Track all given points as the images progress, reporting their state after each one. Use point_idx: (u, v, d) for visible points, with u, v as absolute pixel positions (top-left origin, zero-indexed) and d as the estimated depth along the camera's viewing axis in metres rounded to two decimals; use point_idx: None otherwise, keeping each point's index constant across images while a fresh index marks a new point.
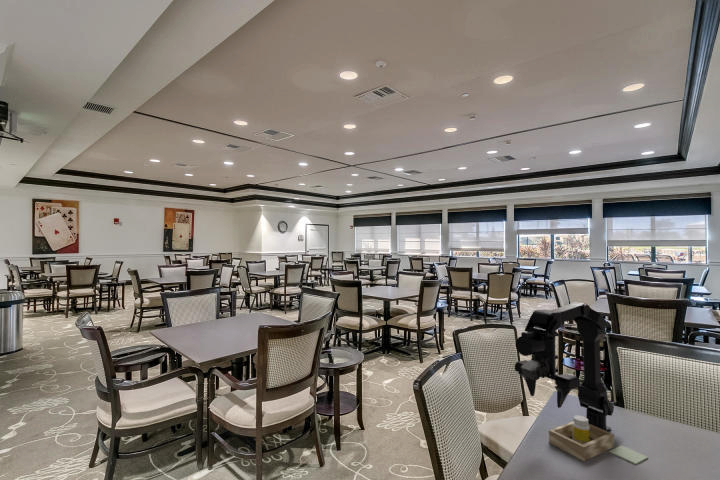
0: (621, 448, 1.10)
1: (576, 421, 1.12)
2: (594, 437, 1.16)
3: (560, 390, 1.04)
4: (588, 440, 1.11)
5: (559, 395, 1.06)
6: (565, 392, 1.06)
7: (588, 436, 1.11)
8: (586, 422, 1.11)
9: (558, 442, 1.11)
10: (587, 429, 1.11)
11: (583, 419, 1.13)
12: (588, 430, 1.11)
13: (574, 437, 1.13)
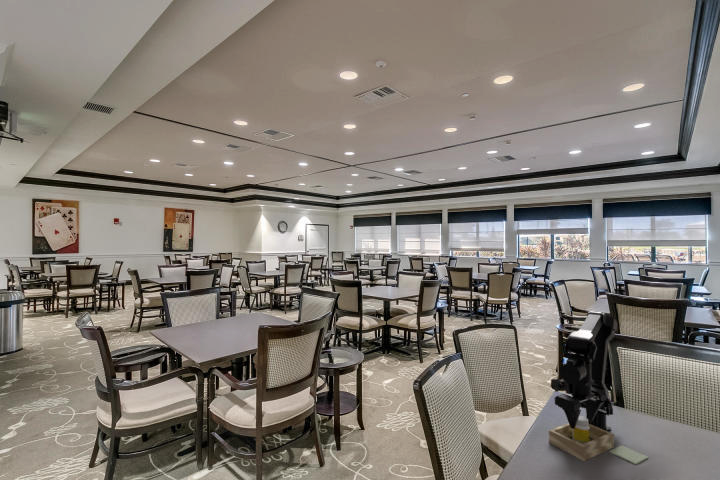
0: (621, 448, 1.10)
1: None
2: (594, 437, 1.16)
3: None
4: (588, 440, 1.11)
5: None
6: (572, 415, 1.10)
7: (588, 436, 1.11)
8: (586, 422, 1.11)
9: (558, 442, 1.11)
10: (587, 429, 1.11)
11: (583, 419, 1.13)
12: (588, 430, 1.11)
13: (574, 437, 1.13)
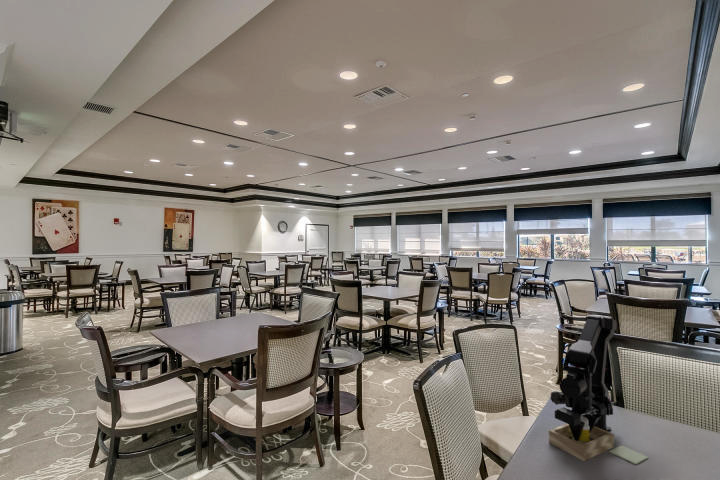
0: (621, 448, 1.10)
1: None
2: (594, 437, 1.16)
3: None
4: (588, 440, 1.11)
5: None
6: (576, 427, 1.10)
7: (588, 436, 1.11)
8: (586, 422, 1.11)
9: (558, 442, 1.11)
10: (587, 429, 1.11)
11: (583, 419, 1.13)
12: (588, 430, 1.11)
13: None
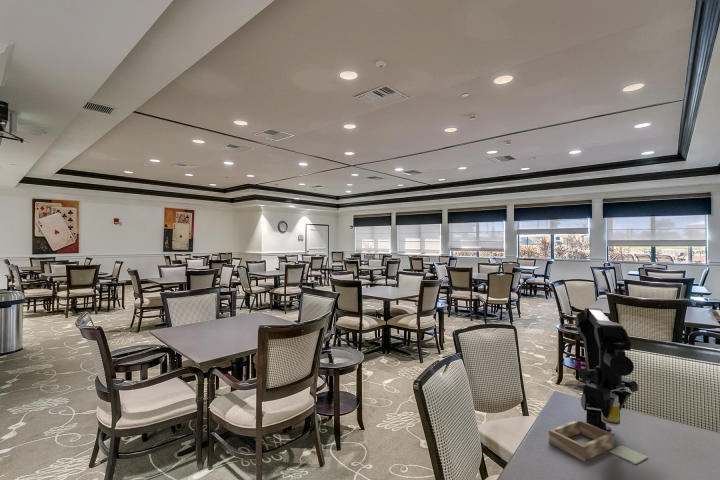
0: (621, 448, 1.10)
1: None
2: (594, 437, 1.16)
3: None
4: (618, 417, 1.07)
5: None
6: (606, 403, 1.07)
7: (618, 413, 1.07)
8: (616, 398, 1.08)
9: (558, 442, 1.11)
10: (617, 406, 1.07)
11: (613, 395, 1.09)
12: (618, 407, 1.08)
13: None
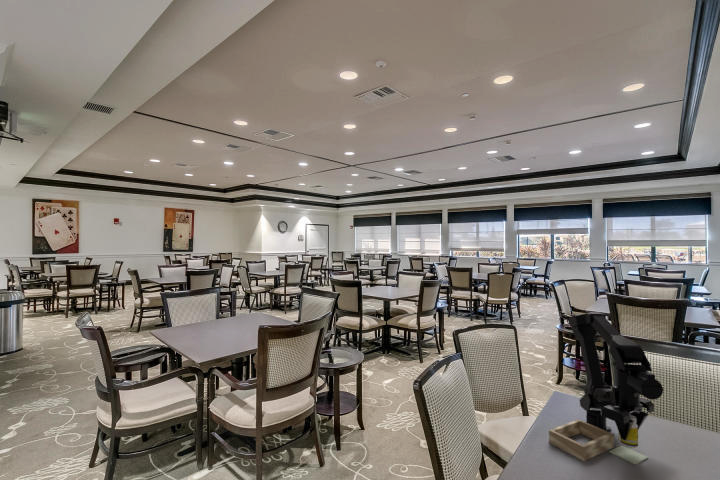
0: (621, 448, 1.10)
1: None
2: (594, 437, 1.16)
3: None
4: (636, 439, 1.06)
5: None
6: (624, 425, 1.05)
7: (636, 435, 1.06)
8: (634, 420, 1.06)
9: (558, 442, 1.11)
10: (635, 427, 1.06)
11: (631, 416, 1.07)
12: (636, 428, 1.06)
13: None
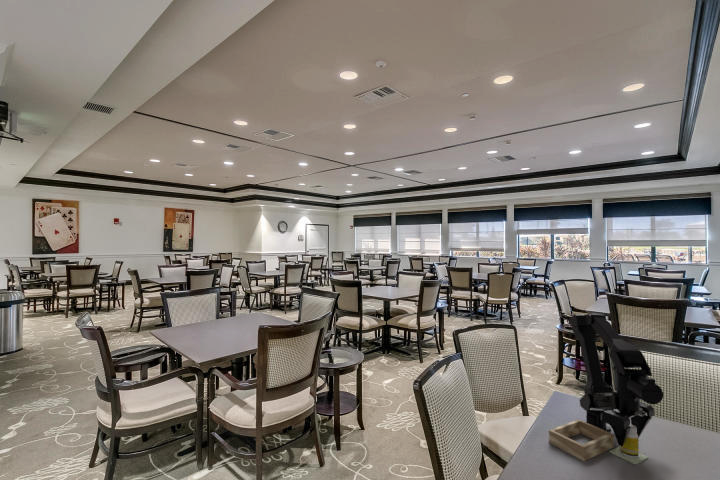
0: None
1: None
2: (594, 437, 1.16)
3: None
4: (637, 449, 1.05)
5: None
6: (621, 431, 1.04)
7: (637, 445, 1.05)
8: (635, 430, 1.06)
9: (558, 442, 1.11)
10: (636, 437, 1.05)
11: (631, 426, 1.07)
12: (637, 438, 1.06)
13: (622, 446, 1.07)
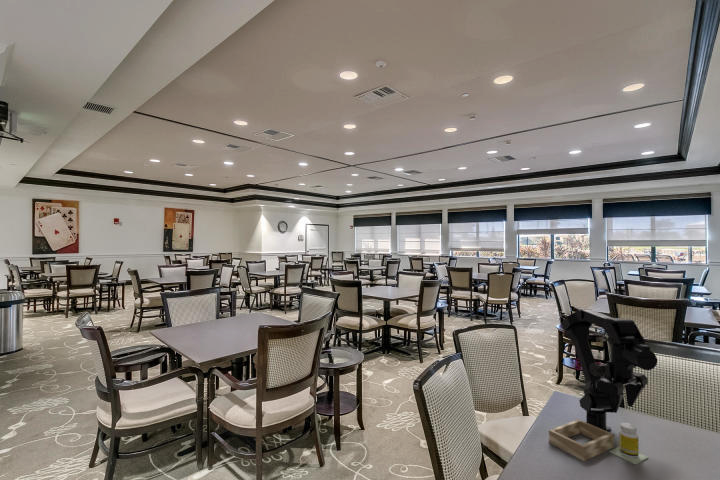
0: None
1: (624, 429, 1.07)
2: (594, 437, 1.16)
3: None
4: (637, 449, 1.05)
5: None
6: (615, 398, 1.08)
7: (637, 445, 1.06)
8: (635, 430, 1.06)
9: (558, 442, 1.11)
10: (636, 437, 1.05)
11: (631, 426, 1.07)
12: (637, 438, 1.06)
13: (622, 446, 1.07)
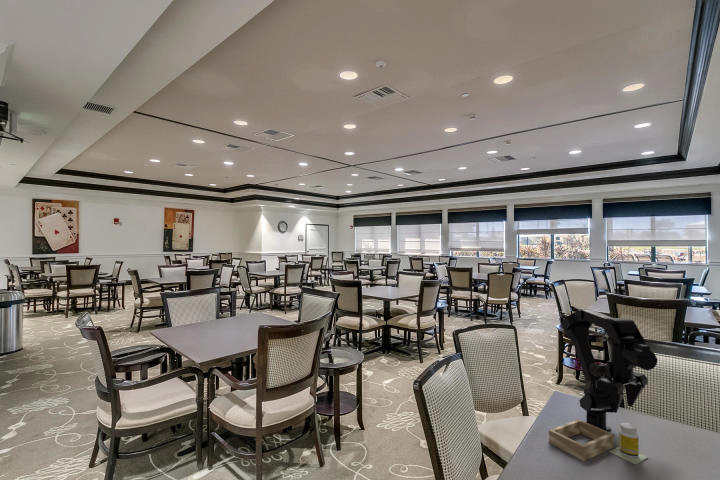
0: None
1: (624, 429, 1.07)
2: (594, 437, 1.16)
3: None
4: (637, 449, 1.06)
5: None
6: (615, 398, 1.08)
7: (637, 444, 1.06)
8: (635, 430, 1.06)
9: (558, 442, 1.11)
10: (636, 437, 1.05)
11: (631, 426, 1.07)
12: (637, 438, 1.06)
13: (622, 446, 1.07)
